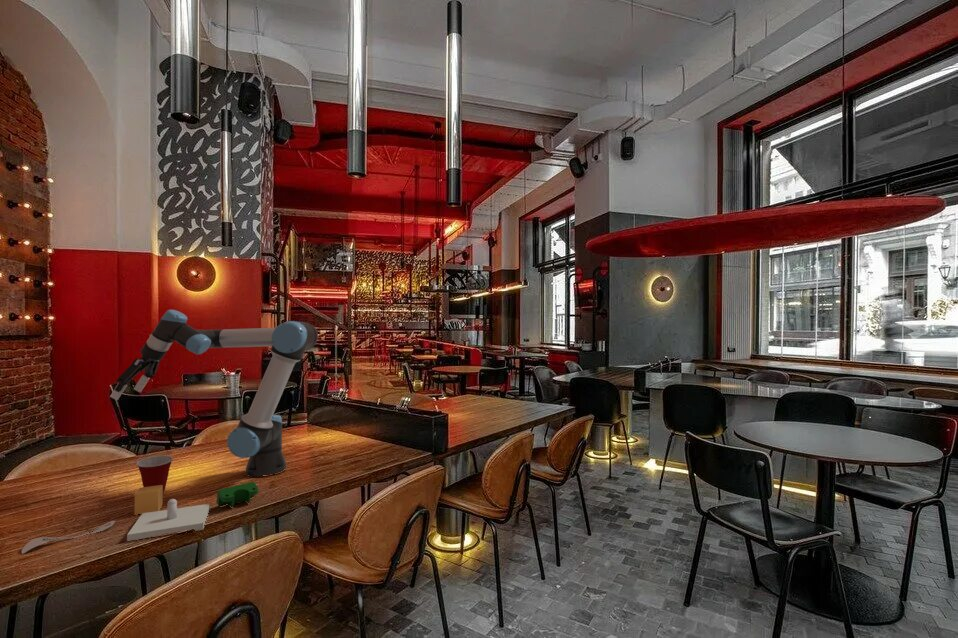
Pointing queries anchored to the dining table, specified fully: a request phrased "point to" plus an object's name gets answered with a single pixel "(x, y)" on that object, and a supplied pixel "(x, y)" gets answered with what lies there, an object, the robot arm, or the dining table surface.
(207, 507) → the base plate
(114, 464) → the dining table surface
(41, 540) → the metal spoon
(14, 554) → the dining table surface
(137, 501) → the tan wooden block
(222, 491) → the clamp
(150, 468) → the plastic cup
